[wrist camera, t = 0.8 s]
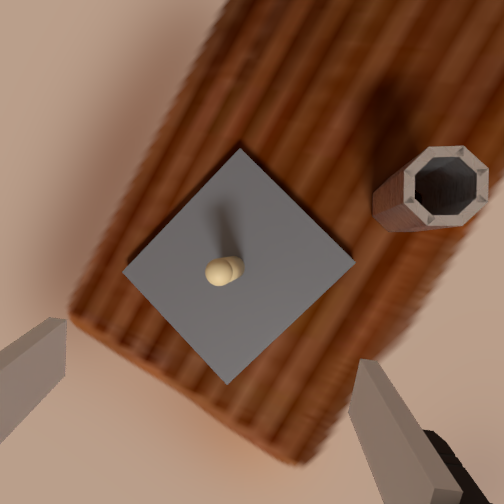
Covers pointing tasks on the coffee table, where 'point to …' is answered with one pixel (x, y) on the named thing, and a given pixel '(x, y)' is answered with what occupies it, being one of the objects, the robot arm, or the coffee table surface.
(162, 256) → the post plate
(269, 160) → the coffee table surface
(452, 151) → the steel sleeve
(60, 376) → the robot arm
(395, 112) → the coffee table surface
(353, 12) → the coffee table surface
